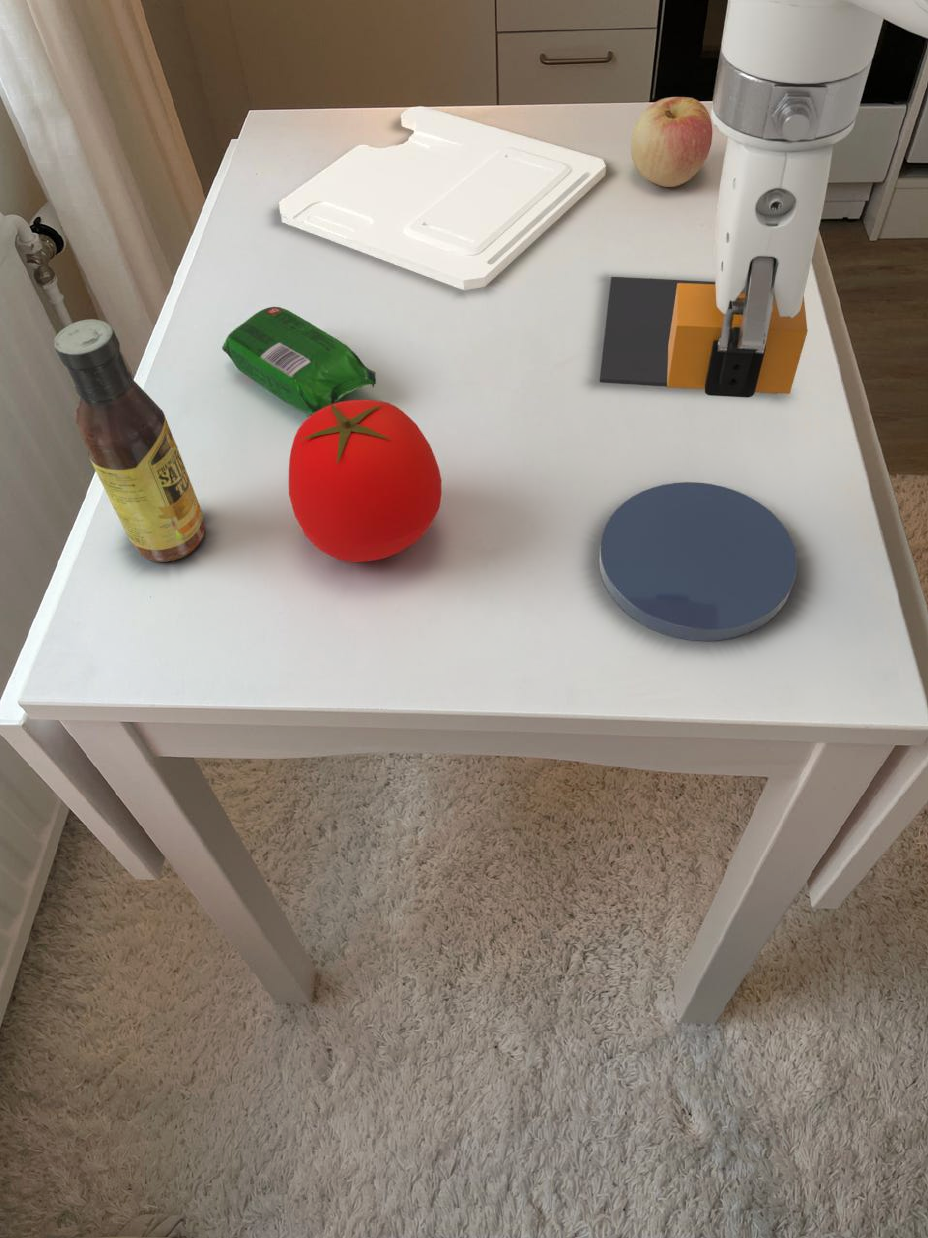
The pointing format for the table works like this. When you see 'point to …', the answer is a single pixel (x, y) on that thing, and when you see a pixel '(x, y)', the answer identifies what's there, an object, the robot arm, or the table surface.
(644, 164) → the apple
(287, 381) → the snack package
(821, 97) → the robot arm
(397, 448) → the tomato
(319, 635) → the table surface
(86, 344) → the sauce bottle
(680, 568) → the plate
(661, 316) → the mat
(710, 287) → the block
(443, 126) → the tray
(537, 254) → the table surface
